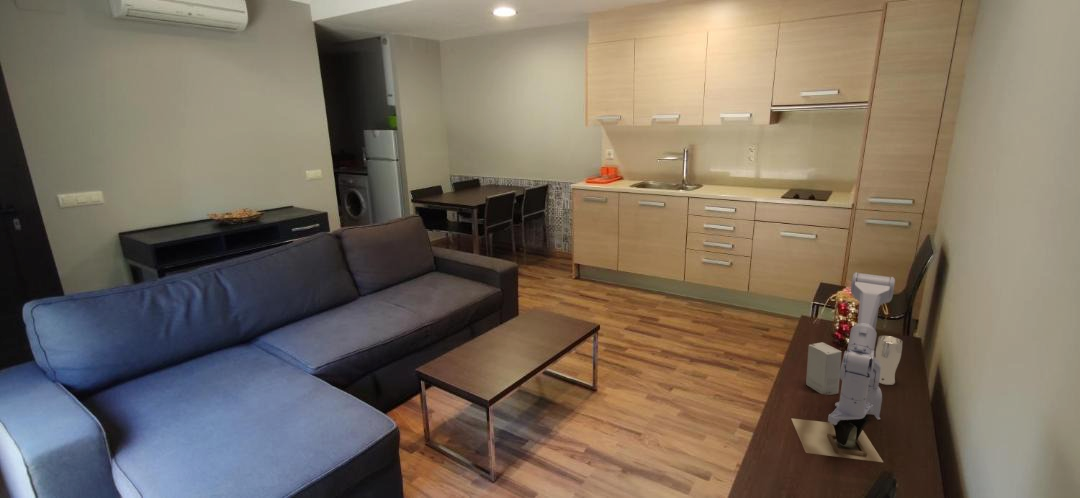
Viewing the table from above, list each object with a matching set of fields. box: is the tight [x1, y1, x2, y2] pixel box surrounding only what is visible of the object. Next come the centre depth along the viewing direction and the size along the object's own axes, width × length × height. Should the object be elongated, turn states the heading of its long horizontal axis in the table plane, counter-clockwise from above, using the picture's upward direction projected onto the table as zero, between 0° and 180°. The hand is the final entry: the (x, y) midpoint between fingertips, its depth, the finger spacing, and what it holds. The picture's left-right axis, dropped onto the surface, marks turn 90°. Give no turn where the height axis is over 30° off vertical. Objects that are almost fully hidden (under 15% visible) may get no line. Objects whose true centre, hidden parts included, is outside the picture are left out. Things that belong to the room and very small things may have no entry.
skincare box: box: [805, 342, 843, 396], centre depth 159 cm, size 8×6×15 cm
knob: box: [838, 423, 857, 448], centre depth 130 cm, size 4×4×5 cm
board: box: [790, 418, 884, 463], centre depth 134 cm, size 18×16×2 cm
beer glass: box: [875, 335, 904, 386], centre depth 163 cm, size 7×7×15 cm
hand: (846, 440), depth 130 cm, fingers closed on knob, 4 cm apart
